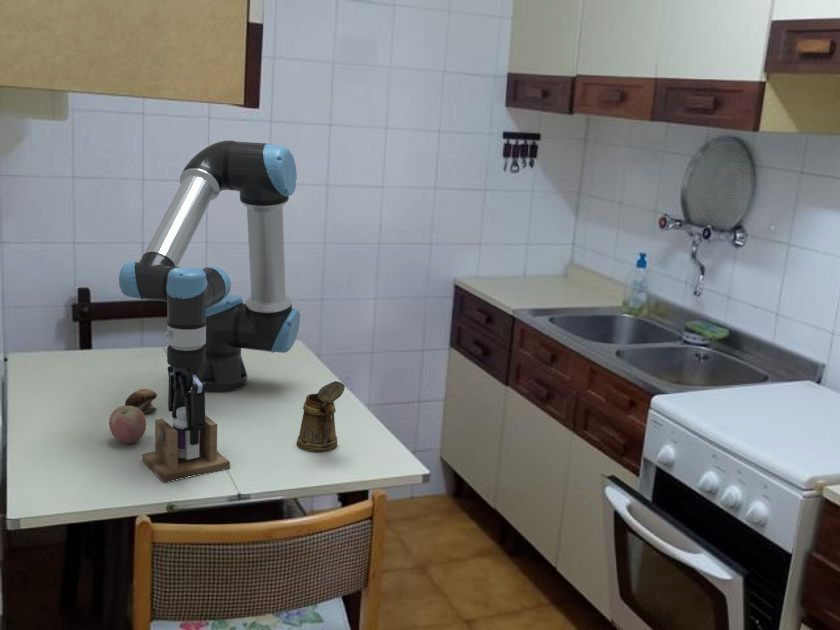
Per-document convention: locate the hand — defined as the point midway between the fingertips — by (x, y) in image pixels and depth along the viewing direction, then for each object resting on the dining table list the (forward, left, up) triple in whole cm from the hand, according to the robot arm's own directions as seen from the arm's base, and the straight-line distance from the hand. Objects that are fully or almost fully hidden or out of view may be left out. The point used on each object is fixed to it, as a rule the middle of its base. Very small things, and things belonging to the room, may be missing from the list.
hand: (186, 452), depth 184 cm
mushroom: (-33, +3, -3) cm, 33 cm away
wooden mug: (+6, +29, -3) cm, 30 cm away
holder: (0, 0, -3) cm, 3 cm away
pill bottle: (0, 0, -1) cm, 1 cm away
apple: (-17, -6, -3) cm, 18 cm away
